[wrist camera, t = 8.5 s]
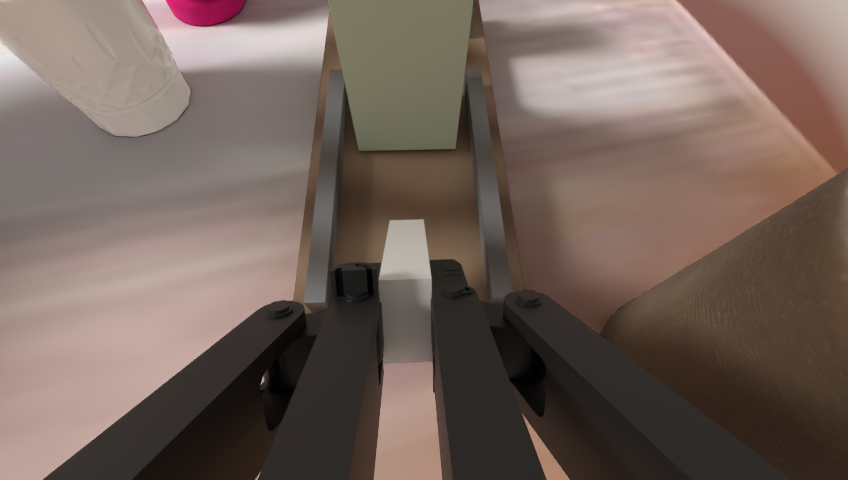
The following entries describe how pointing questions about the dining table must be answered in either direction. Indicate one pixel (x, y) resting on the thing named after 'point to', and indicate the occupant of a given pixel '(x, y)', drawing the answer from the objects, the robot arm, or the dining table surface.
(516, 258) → the press bench
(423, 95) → the block
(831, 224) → the pillar candle
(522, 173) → the dining table surface
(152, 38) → the white cup
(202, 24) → the pink bowling pin
